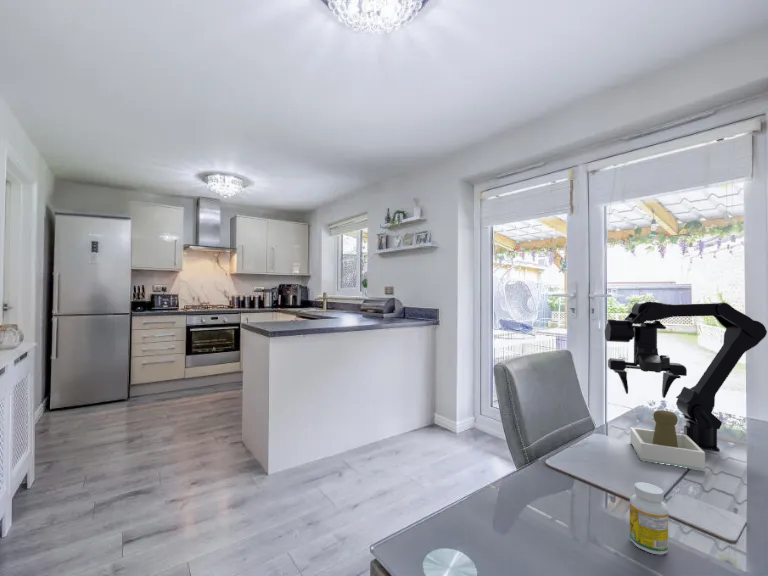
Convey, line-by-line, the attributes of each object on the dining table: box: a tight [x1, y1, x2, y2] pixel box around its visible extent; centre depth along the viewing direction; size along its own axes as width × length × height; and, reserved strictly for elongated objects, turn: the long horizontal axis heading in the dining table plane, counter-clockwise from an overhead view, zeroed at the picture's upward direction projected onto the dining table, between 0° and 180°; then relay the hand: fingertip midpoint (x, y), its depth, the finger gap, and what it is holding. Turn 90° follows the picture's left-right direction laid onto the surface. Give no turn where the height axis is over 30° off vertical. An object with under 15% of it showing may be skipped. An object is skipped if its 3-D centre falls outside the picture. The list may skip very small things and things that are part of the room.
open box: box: [629, 427, 706, 472], centre depth 100 cm, size 13×13×4 cm
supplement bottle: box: [629, 481, 669, 554], centre depth 63 cm, size 5×5×10 cm
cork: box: [652, 409, 678, 448], centre depth 100 cm, size 6×6×11 cm
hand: (645, 395), depth 112 cm, fingers open, 9 cm apart
